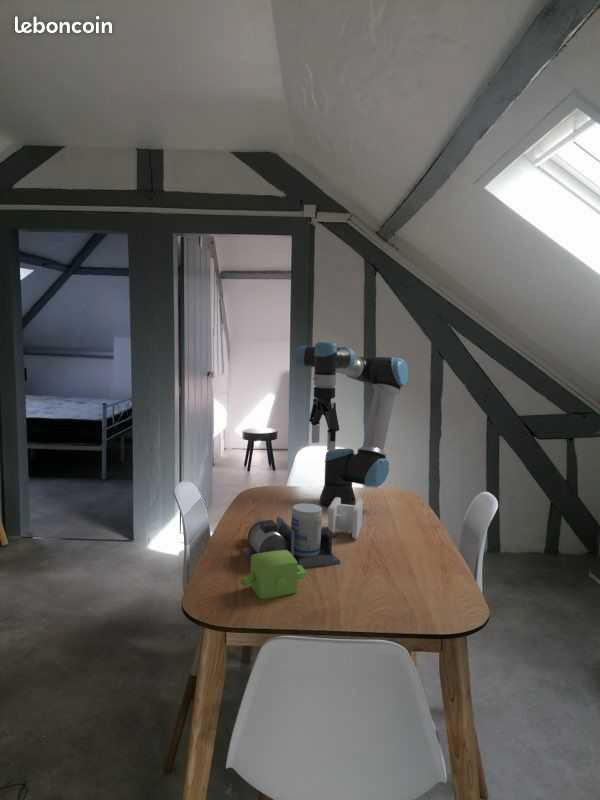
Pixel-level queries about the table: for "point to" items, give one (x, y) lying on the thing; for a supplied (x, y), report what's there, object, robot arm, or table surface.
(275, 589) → the gearbox
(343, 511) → the cable organizer
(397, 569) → the table surface
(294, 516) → the supplement tub
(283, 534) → the motor clip
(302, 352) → the robot arm
